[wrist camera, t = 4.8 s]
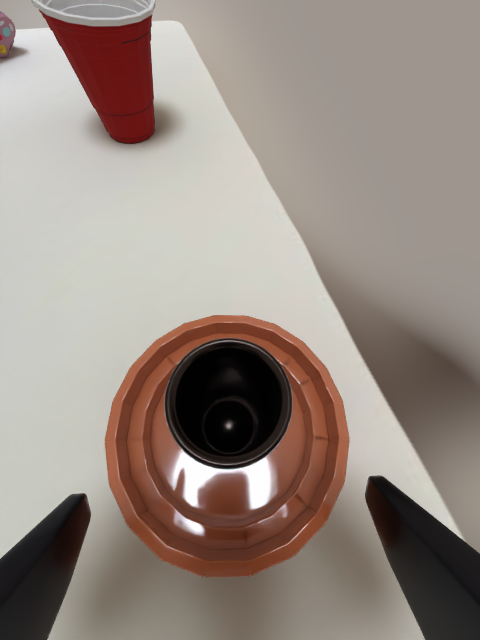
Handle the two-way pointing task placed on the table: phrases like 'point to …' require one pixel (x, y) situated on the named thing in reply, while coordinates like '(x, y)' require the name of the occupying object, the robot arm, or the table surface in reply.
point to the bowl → (218, 484)
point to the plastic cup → (109, 59)
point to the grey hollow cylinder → (228, 403)
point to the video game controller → (6, 34)
